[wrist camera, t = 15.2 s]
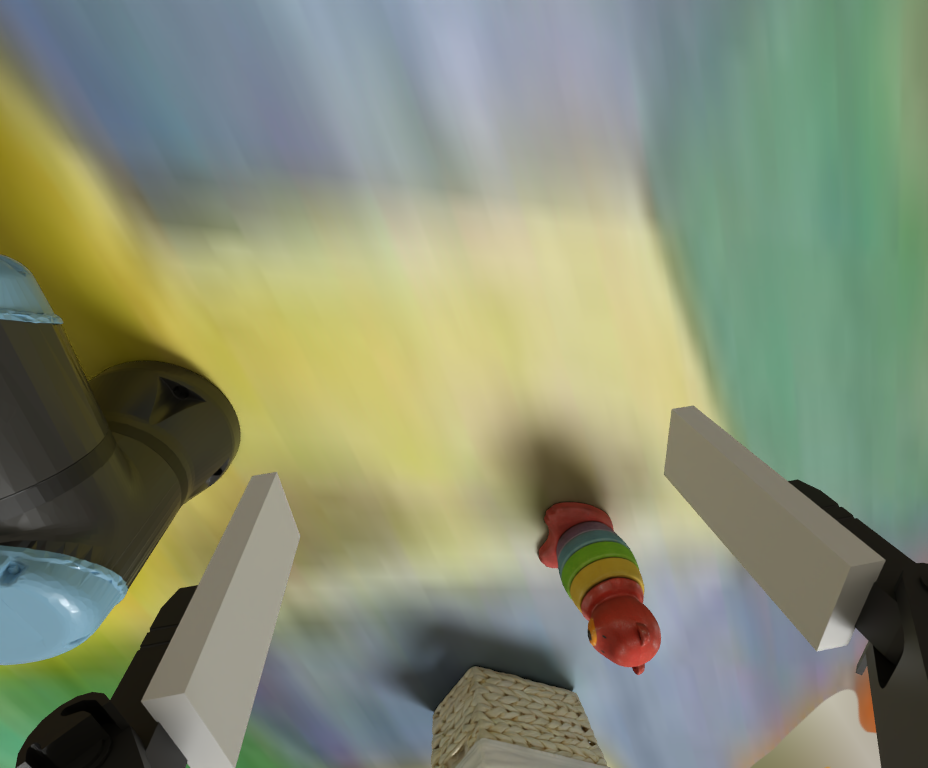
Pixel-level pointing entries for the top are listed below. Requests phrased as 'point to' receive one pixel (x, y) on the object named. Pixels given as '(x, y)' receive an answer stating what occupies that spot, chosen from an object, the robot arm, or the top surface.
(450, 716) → the storage basket
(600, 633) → the stacking bear
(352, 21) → the top surface
